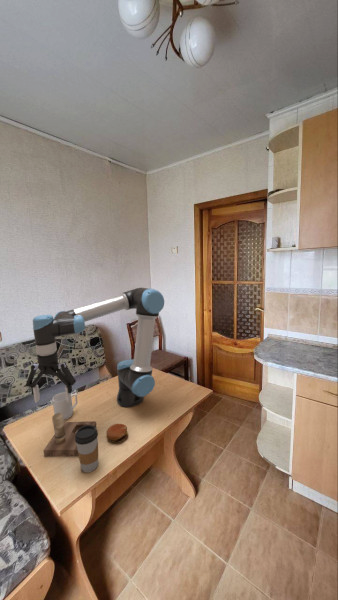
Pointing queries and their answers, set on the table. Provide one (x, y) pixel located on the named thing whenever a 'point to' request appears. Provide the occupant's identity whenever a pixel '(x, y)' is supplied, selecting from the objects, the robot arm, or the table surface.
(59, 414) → the peg
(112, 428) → the burger
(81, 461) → the coffee cup
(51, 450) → the board
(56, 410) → the mug
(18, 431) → the table surface
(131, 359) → the robot arm
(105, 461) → the table surface
